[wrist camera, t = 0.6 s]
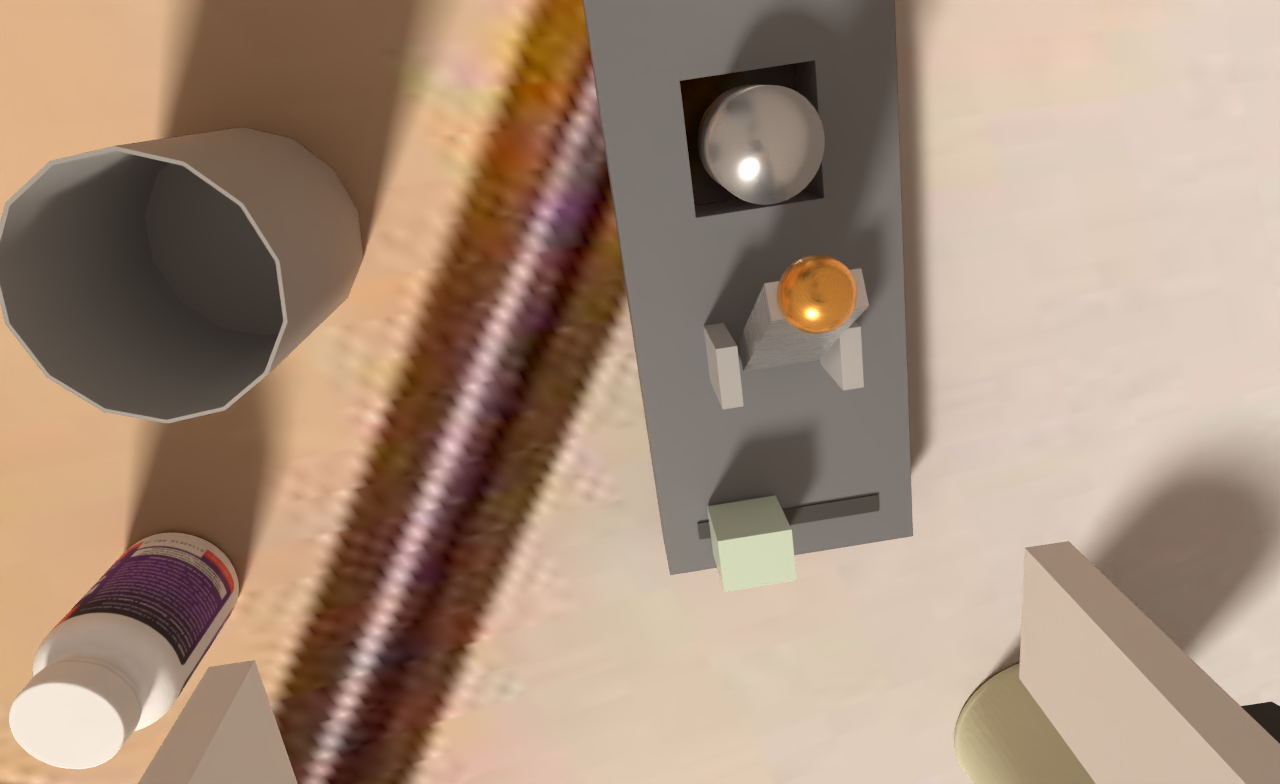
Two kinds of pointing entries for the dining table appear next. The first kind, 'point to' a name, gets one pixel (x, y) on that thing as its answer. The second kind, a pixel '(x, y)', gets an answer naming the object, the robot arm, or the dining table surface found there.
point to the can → (1012, 738)
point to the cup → (175, 267)
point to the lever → (802, 313)
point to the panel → (760, 270)
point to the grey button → (761, 142)
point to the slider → (751, 543)
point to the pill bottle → (124, 650)
